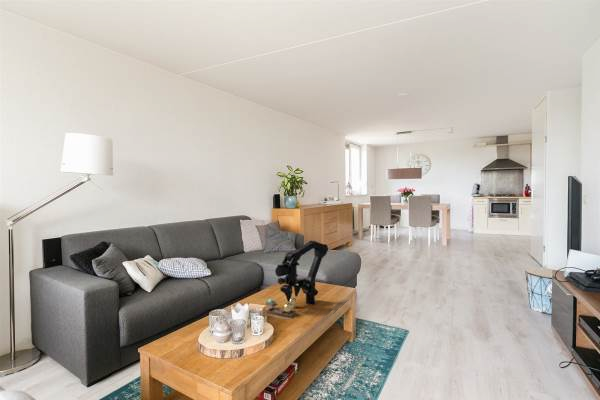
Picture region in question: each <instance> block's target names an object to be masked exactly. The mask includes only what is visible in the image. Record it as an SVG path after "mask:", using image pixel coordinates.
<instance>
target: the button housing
mask: <svg viewBox="0 0 600 400" xmlns="http://www.w3.org/2000/svg"><path fill="white" fill-rule="evenodd" d="M276 303H277V302H276V300H273V302H272V303H269V302H268V300H267V301H265V306H268V307H274V305H276Z"/></svg>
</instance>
